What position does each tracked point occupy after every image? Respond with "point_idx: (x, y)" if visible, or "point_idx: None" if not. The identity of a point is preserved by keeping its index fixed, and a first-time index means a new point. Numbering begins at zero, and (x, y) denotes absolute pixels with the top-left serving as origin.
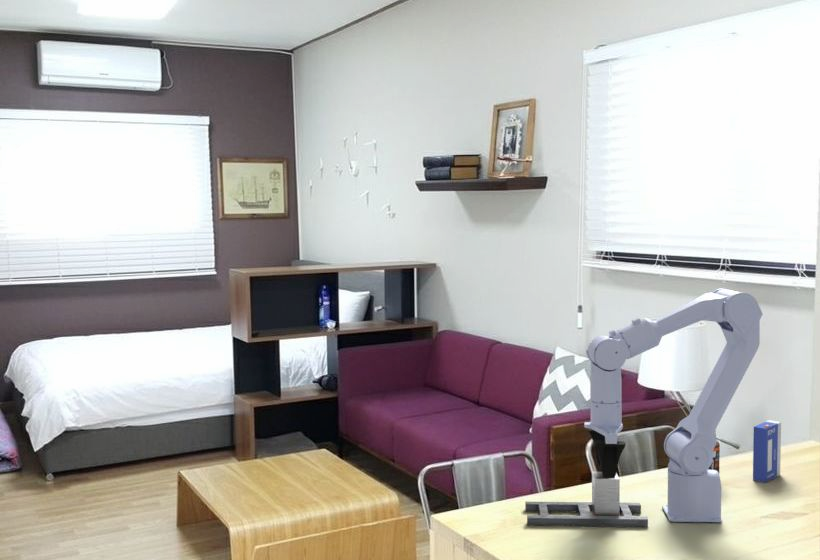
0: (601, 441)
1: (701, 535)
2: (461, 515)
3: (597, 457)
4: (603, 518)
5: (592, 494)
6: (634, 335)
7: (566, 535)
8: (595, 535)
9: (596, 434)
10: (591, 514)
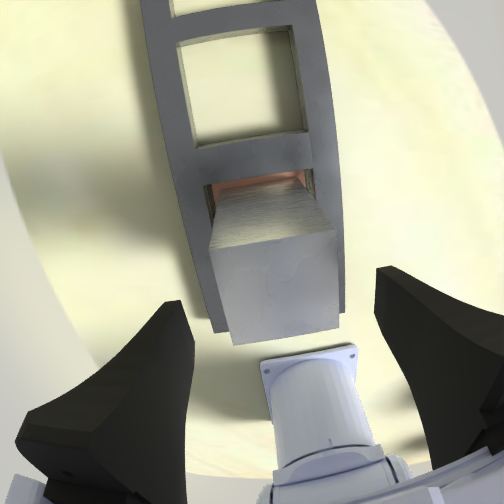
0: (75, 474)
1: (199, 397)
2: None
3: (395, 287)
4: (187, 223)
5: (298, 196)
6: None
7: (94, 118)
8: (116, 197)
9: (473, 386)
10: (275, 175)
